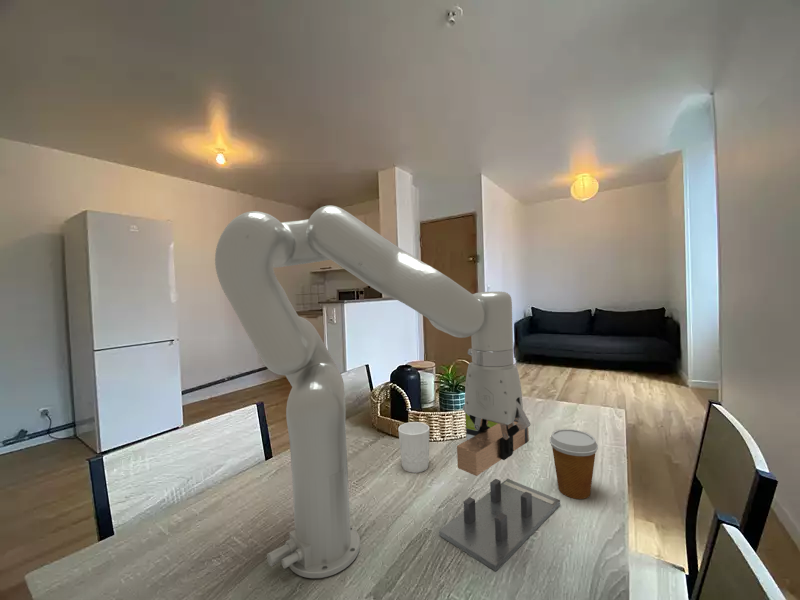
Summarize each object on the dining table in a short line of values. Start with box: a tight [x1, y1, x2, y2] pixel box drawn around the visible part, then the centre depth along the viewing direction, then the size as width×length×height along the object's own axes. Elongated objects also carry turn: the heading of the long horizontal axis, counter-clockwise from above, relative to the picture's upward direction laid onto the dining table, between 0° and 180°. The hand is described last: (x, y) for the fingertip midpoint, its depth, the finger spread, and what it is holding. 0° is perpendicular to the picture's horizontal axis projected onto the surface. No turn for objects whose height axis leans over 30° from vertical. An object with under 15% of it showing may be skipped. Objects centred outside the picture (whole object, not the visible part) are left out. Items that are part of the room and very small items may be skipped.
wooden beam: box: [456, 419, 530, 477], centre depth 68 cm, size 18×4×4 cm, turn 133°
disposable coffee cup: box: [549, 428, 599, 500], centre depth 78 cm, size 10×10×12 cm
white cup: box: [397, 421, 430, 474], centre depth 92 cm, size 8×8×10 cm
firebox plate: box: [438, 478, 561, 572], centre depth 70 cm, size 24×12×5 cm, turn 133°
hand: (495, 452), depth 68 cm, fingers closed on wooden beam, 4 cm apart
